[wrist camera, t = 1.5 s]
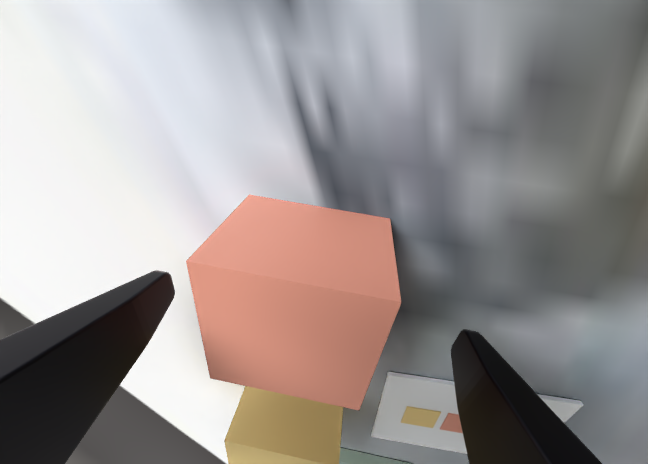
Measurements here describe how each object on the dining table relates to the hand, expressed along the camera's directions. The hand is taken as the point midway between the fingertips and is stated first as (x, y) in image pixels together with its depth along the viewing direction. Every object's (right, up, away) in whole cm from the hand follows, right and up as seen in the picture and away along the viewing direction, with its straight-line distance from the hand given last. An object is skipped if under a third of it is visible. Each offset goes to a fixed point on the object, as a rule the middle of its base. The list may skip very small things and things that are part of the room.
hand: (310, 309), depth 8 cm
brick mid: (0, +1, +3) cm, 3 cm away
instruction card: (+8, -8, +7) cm, 13 cm away
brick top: (-1, -7, +8) cm, 11 cm away
